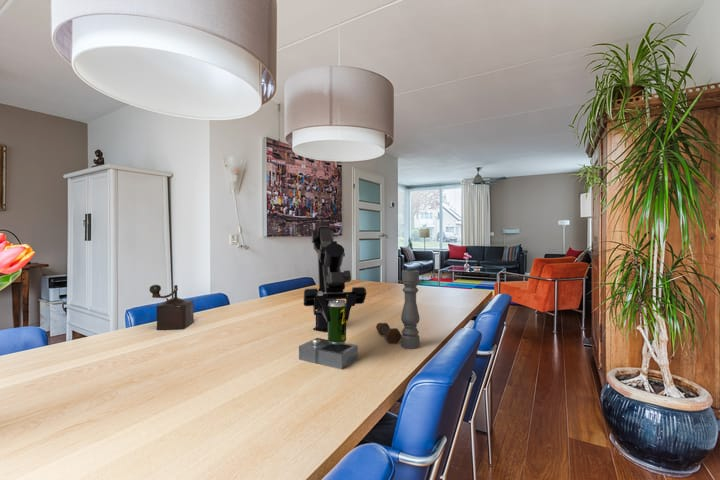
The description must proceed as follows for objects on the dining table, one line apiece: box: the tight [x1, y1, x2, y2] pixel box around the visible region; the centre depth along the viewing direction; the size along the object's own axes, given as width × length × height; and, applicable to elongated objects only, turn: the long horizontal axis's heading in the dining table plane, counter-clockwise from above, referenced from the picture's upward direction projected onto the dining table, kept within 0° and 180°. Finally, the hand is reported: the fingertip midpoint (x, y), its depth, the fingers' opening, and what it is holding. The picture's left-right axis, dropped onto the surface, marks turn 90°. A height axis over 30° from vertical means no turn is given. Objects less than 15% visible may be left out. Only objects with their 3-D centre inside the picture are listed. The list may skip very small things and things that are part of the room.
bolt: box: [375, 322, 402, 345], centre depth 123 cm, size 6×5×15 cm
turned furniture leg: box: [400, 269, 420, 350], centre depth 113 cm, size 6×6×25 cm
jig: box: [298, 337, 359, 370], centre depth 102 cm, size 15×9×5 cm, turn 61°
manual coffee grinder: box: [149, 284, 195, 331], centre depth 134 cm, size 16×11×18 cm
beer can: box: [327, 299, 347, 345], centre depth 100 cm, size 5×5×12 cm
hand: (337, 320), depth 99 cm, fingers closed on beer can, 5 cm apart
